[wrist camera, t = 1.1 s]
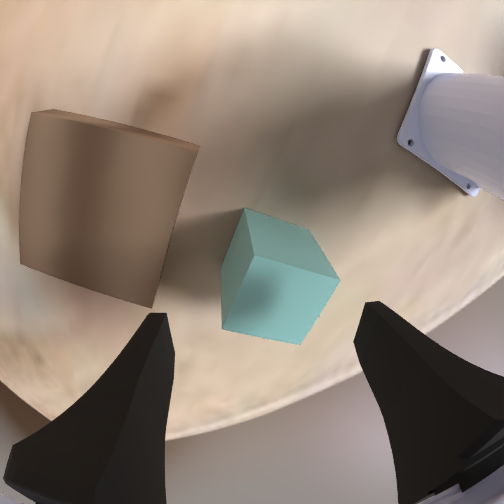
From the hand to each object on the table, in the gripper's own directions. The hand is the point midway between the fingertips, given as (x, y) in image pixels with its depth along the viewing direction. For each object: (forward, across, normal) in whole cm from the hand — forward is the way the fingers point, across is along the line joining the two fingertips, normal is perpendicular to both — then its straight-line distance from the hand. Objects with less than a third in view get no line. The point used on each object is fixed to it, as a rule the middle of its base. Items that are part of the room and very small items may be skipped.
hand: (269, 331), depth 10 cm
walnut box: (+10, +9, -2) cm, 14 cm away
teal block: (+10, -1, +2) cm, 10 cm away
